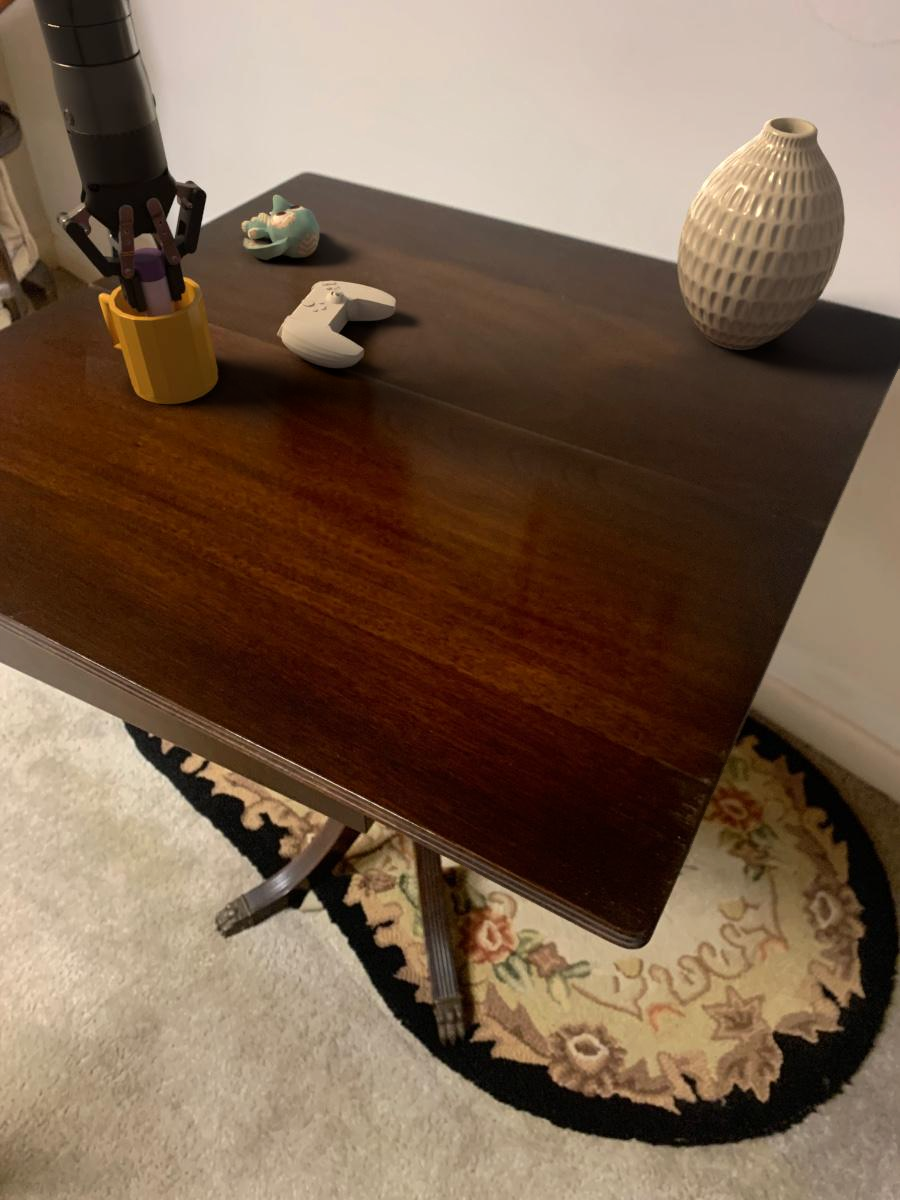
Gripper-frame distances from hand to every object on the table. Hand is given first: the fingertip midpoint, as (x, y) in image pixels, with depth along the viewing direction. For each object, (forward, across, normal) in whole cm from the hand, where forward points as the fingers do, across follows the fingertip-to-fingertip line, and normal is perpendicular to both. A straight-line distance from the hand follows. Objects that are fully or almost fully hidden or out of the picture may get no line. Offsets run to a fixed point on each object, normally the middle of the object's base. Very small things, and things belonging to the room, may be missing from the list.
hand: (157, 302), depth 87 cm
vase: (+9, -56, +27) cm, 63 cm away
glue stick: (+5, 0, 0) cm, 5 cm away
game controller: (+9, -18, +2) cm, 20 cm away
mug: (+9, +1, -1) cm, 9 cm away
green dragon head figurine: (+9, -23, -20) cm, 32 cm away
